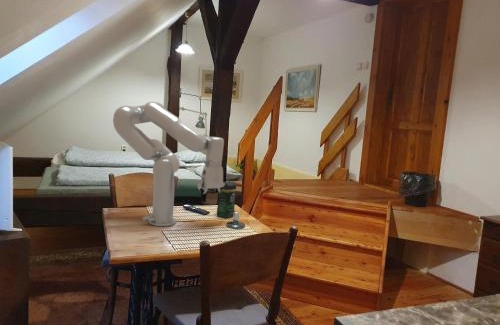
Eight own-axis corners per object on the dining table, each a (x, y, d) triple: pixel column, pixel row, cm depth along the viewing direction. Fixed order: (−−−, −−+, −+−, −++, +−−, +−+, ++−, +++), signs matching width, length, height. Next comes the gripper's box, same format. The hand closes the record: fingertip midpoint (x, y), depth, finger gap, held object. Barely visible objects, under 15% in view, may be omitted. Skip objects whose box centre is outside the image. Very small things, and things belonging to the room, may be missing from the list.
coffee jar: (226, 219, 183) (229, 183, 181) (214, 216, 187) (216, 181, 185) (236, 215, 192) (239, 181, 189) (224, 212, 195) (226, 179, 193)
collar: (208, 205, 163) (209, 194, 162) (198, 201, 167) (199, 191, 167) (219, 203, 168) (221, 193, 167) (210, 200, 172) (211, 190, 172)
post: (235, 230, 166) (236, 215, 165) (222, 225, 172) (223, 211, 172) (248, 227, 173) (249, 212, 172) (235, 222, 179) (236, 208, 178)
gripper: (203, 165, 156) (199, 204, 159) (232, 164, 169) (228, 201, 171) (193, 162, 162) (189, 200, 164) (222, 162, 174) (218, 197, 176)
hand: (209, 200), depth 167 cm, fingers closed on collar, 7 cm apart
